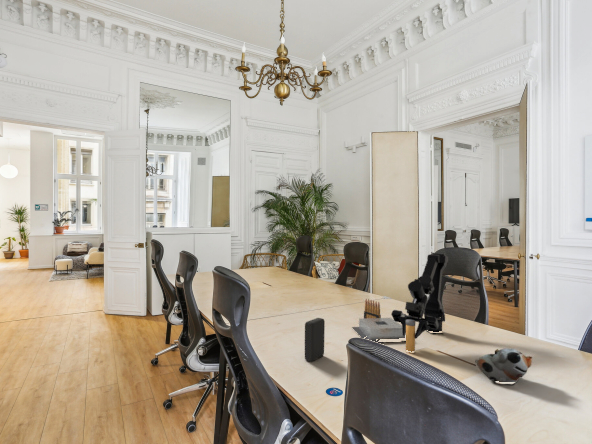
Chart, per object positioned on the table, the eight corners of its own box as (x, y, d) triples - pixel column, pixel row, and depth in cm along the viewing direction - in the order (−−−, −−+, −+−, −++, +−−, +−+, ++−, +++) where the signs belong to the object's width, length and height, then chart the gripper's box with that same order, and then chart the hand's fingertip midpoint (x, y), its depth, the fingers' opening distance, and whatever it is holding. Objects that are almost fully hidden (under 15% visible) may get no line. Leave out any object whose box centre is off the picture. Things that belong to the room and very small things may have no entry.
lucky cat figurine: (501, 368, 126) (523, 340, 121) (523, 396, 115) (548, 366, 110) (467, 359, 123) (488, 330, 118) (487, 387, 112) (511, 356, 107)
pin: (412, 349, 143) (412, 319, 143) (416, 353, 139) (417, 321, 139) (403, 350, 142) (404, 319, 142) (408, 353, 139) (408, 322, 139)
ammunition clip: (363, 320, 186) (363, 298, 186) (365, 319, 187) (366, 298, 187) (378, 325, 177) (378, 302, 177) (381, 324, 178) (381, 301, 178)
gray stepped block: (393, 326, 174) (393, 316, 174) (413, 341, 153) (413, 329, 153) (351, 328, 172) (352, 317, 172) (366, 343, 150) (366, 331, 150)
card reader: (317, 353, 138) (317, 316, 138) (325, 355, 136) (325, 318, 136) (303, 360, 131) (303, 321, 131) (311, 363, 129) (312, 323, 129)
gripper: (393, 291, 150) (382, 321, 141) (437, 297, 138) (428, 331, 129) (399, 305, 156) (389, 335, 147) (442, 313, 144) (434, 346, 136)
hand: (409, 336), depth 140 cm, fingers open, 5 cm apart
